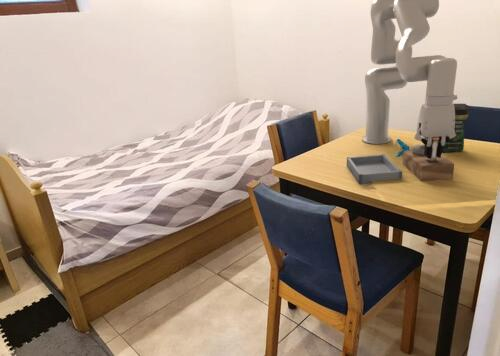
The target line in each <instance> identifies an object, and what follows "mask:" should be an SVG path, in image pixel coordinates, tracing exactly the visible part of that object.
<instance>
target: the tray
mask: <svg viewBox="0 0 500 356" xmlns="http://www.w3.org/2000/svg"><path fill="white" fill-rule="evenodd" d="M346 168H348V171H349V172H350V173H351V174H352V176H353V178H354V179H355V181H356V183H357V184H358V185H369V184H370V185H371V184H373V182H375V181H376V182H377V181H391V180H402V179H403V171H402V170H401V168H399V167H398V166H397V165H396V164H395V163H394V162H393V161H391V159H390V158H389V157H388V156H387V155H386V154H384V153H383V154H374V155H372V154H371V155H362V156H361V155H359V156H357V155H356V156H348V157H347V156H346Z"/></svg>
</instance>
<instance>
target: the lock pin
mask: <svg viewBox="0 0 500 356" xmlns="http://www.w3.org/2000/svg"><path fill="white" fill-rule="evenodd" d="M439 140H440V137H432V140H431V147H432V155H431V158H428V162H429V163H436V159H437V150H438V142H439Z"/></svg>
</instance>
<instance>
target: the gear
mask: <svg viewBox="0 0 500 356" xmlns="http://www.w3.org/2000/svg"><path fill="white" fill-rule="evenodd" d="M396 142H397V144H398V145H399V146H400V148H401V149H400V150H399V151H398V152H397V155H395V157H396V158H399V157H401V156H403V151H410V150H412V149H411V148H410V147H409V145H407V143H405V142H404V141H402V140H401V139H400V138H397V139H396Z"/></svg>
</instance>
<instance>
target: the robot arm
mask: <svg viewBox="0 0 500 356" xmlns="http://www.w3.org/2000/svg"><path fill="white" fill-rule="evenodd" d="M439 7H440V0H373V1H372V3H371V6H370V19H371V24H372V25H371V26H372V34H371V35H372V36H371V49H370V60H371V63H372V64H373V65H378V66H379V67H374V68H371V69H369V70H367V72H366V73H365V75H364V83H365V84H364V85H365V90H366V109H365V111H366V112H365V113H366V114H365V135H363V136H361V141H362V142H364V143H365V144H371V145H383V144H389V143H391V141H392V139H393V137H392V136H390V135H389V122H390V105H391V104H390V103H391V102H390V98H389V96H388V95H387V94H386V92H385V91H390V90H399V89H403V88H405V87H406V86H407V84H408V83H415V82H416V83H417V82H425V81H426V89H425V99H424V102H425V103H424V104H422V105H421V107H420V111H419V114H418V118H417V124H416V133H415V135H414V140H416V141H419V142H421V143H422V145H425V149H424V155H425V156H426V157H427V158H431V155H432V147H431V140H432V137H440V140H439V142H438V150H437V157H438V158H441V155H442V154H443V153H442V150H443V146H444V145H445V143H446V142H447V141H448V140H449V139H451V138H453V137H455V136H456V134H455V131H454V127H455V108H454V104H455V103H454V101H456V100H457V99H458V95H457V94H456V95H455V94H454V92H455V84H456V76H457V68H458V60H456V59H455V58H454V57H453V58H452V57H446V56H445V55H441V54H440V55H439V54H438V55H437V54H436V55H435V54H434V55H424V56H416V57H415V56H413V47H412V46H413V45H415V44H417V43H419V42H421V41H422V40H423V39H425V38H426V37H427V36H428V35H429V33H430V24H429V22H428V19H429V18H432V17H434V16H435V15H436V14H437V13H438V10H439ZM393 19H395V20H396V22H397V24H398V25H397V26H398V28H399V31H400V34H401V38H396V37H395V36H396V30H397V29H396V25H395V23H394V21H393ZM392 64H393V66H390V65H392ZM394 64H395V65H394ZM381 65H382V67H381ZM383 65H384V66H383ZM385 65H389V66H385Z"/></svg>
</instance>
